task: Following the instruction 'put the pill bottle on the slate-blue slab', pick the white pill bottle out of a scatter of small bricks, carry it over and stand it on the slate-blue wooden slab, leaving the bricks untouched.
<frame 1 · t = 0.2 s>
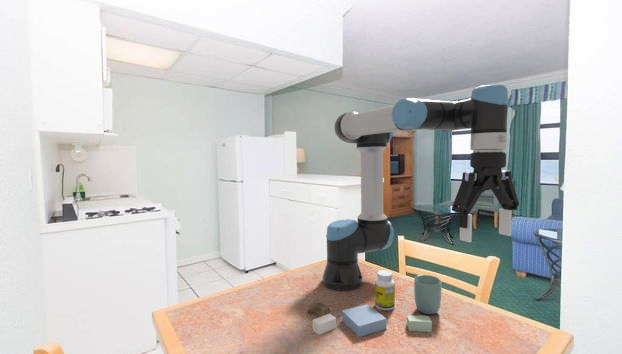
hand: (485, 237, 74), 28 cm above the table, fingers open, 13 cm apart
cream brick: (324, 329, 84), on the table
walnut brick: (318, 314, 92), on the table
sage brick: (419, 328, 84), on the table
pill bottle: (384, 307, 96), on the table
slab: (363, 324, 86), on the table
cup: (427, 311, 93), on the table
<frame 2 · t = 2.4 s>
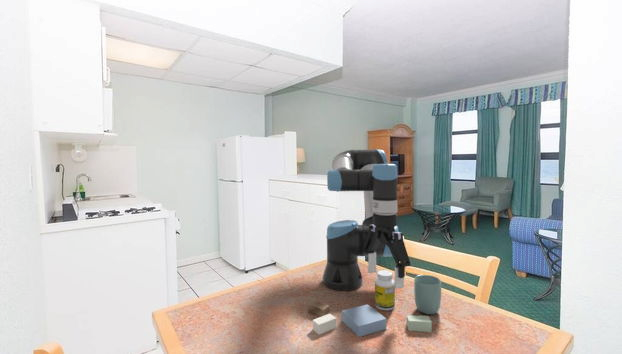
hand: (384, 279, 95), 9 cm above the table, fingers open, 13 cm apart
nothing on the table moved.
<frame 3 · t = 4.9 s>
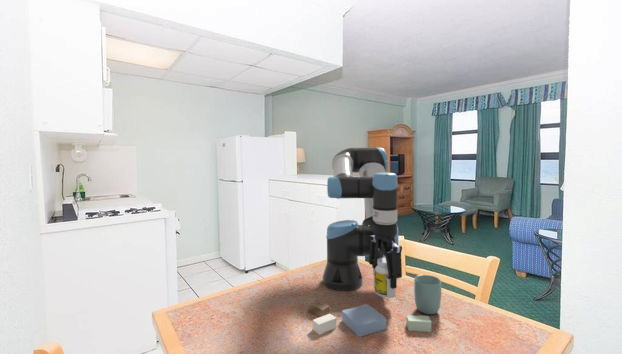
hand: (384, 292, 96), 4 cm above the table, fingers closed on pill bottle, 6 cm apart
pill bottle: (384, 293, 97), point 4 cm above the table, touching gripper
everything else where it was.
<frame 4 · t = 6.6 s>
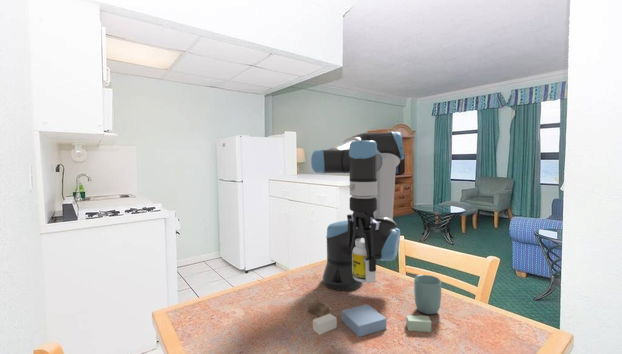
hand: (363, 277, 85), 14 cm above the table, fingers closed on pill bottle, 6 cm apart
pill bottle: (363, 279, 85), point 13 cm above the table, touching gripper
everything else where it was.
when the fingers open (4 cm above the table, at t = 8.6 s): pill bottle stays where it is, resting on slab.
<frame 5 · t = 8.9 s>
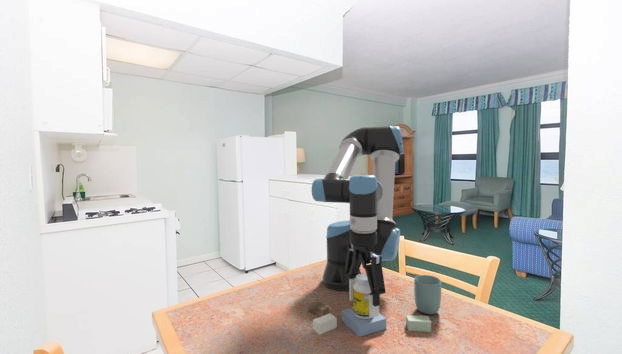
hand: (363, 307, 85), 5 cm above the table, fingers open, 9 cm apart
pill bottle: (363, 315, 86), point 3 cm above the table, touching slab
everything else where it was.
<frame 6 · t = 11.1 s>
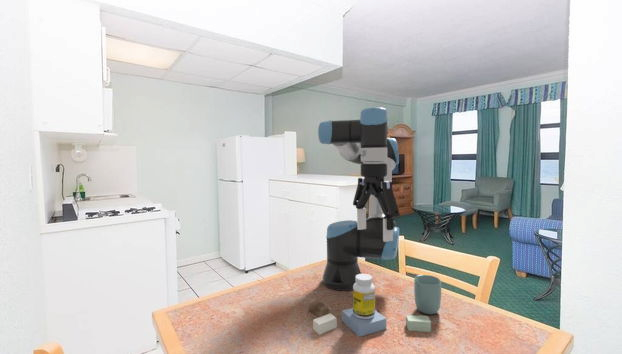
hand: (373, 234, 88), 25 cm above the table, fingers open, 13 cm apart
nothing on the table moved.
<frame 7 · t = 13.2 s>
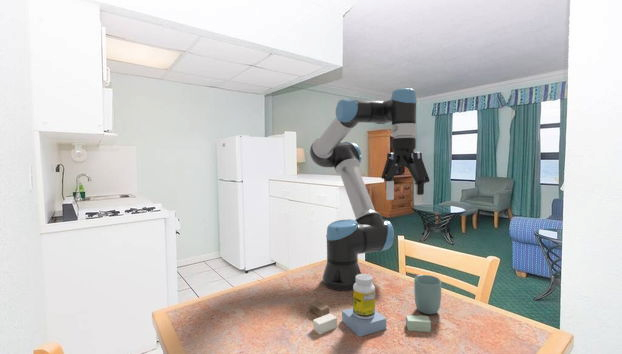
hand: (403, 202, 99), 33 cm above the table, fingers open, 13 cm apart
nothing on the table moved.
at the end: pill bottle inside the target area on the slab (0.1 cm from its centre), point 2.8 cm above the slab's base; pill bottle tilted 0°; cream brick moved 0.3 cm from its start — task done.
